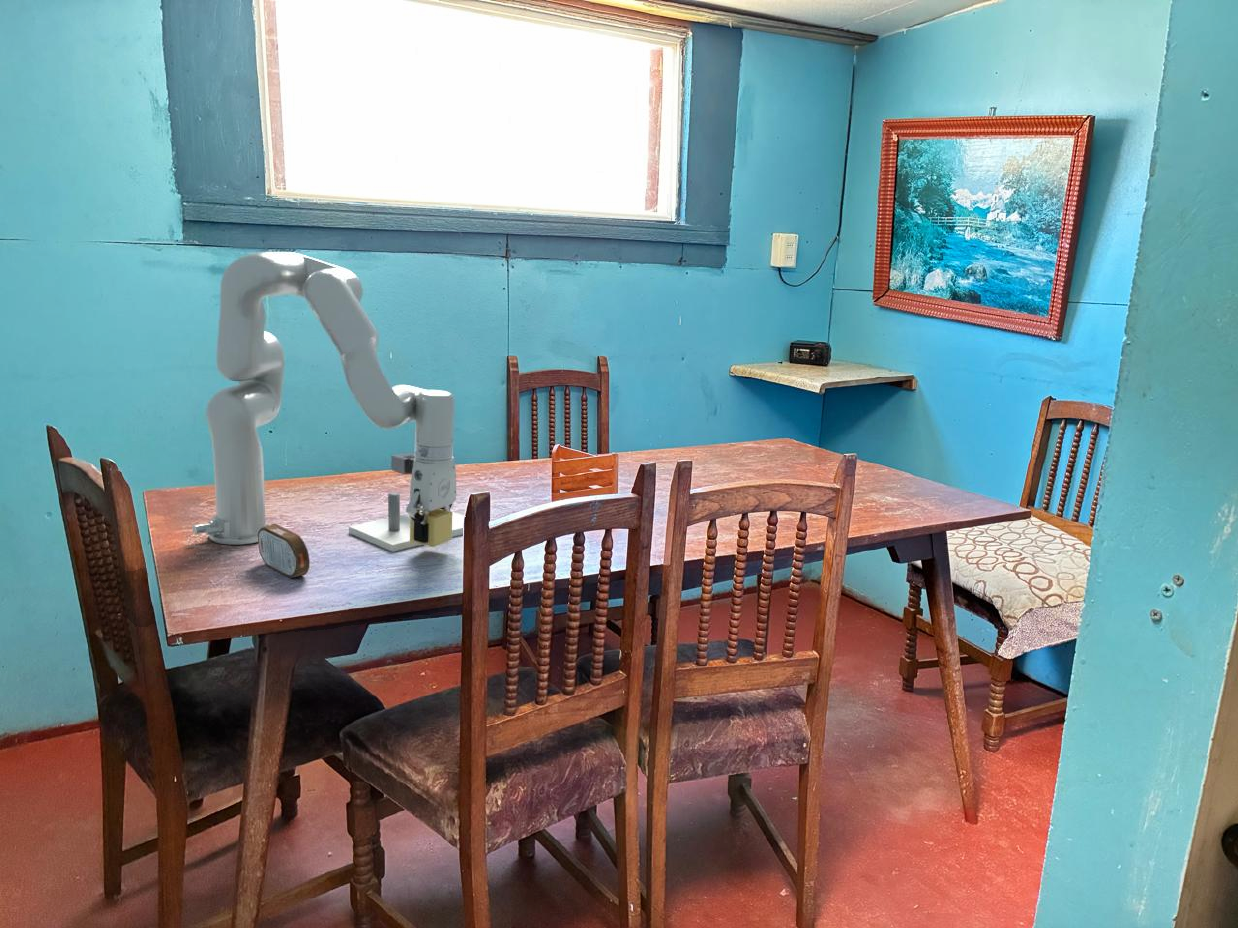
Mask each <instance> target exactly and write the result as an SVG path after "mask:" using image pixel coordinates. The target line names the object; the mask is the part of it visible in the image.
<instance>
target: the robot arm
mask: <svg viewBox="0 0 1238 928" xmlns="http://www.w3.org/2000/svg"><path fill="white" fill-rule="evenodd" d="M219 292H220V293H219V296H220V297H219V298H220V300H219V301H220V303H219V308H220V309H219V317H218V318H219V319H218V328H217V329H218V331H217V346H216V365H217V369H218V371H219V374H221V375H222V377H224V378H225V379H227V380H229V381H232V382H238V384H236V385H232V386H229V387H226V388H223V389H221V390H219V391H217V392H216V393H215V394H214V395H213V396H212V397H211V398H210V400H209V401H208V402H207V406H206V411H205V412H206V413H205V414H206V423H207V425H208V426H207V427H208V431H209V434H210V439H211V446H212V447H211V448H212V459H213V461H212V462H213V473H214V474H213V475H214V476H213V477H214V494H215V496H214V497H215V498H214V499H215V515H212V516H211V520H208V522H207V523H199V524H194V525H192V531H193V534H194V535H199V534H205V535H206V536H208V537H209V539H210V540H211V541H213V542H214V543H217V544H222V545H230V546H231V545H232V546H233V545H239V546H240V545H249V544H256V543H258V532H259V530H260V529H261V528H263V527H266V526H269V525H270V524H268V523H267V521H266V520H267V519H266V500H265V499H266V498H265V497H266V496H265V495H266V494H265V473H264V472H265V471H264V470H265V469H264V452H263V448H262V447H263V446H262V443H261V440H260V437H259V433H258V429H257V428H259V427H262V426H265V425H267V424H269V423H270V422H272V421H273V420H274V419H275V418H276V417H277V416H278V414H279V411H280V409H281V404H282V395H283V386H284V385H283V384H284V371H285V353H284V348H283V347H282V344H281V342H280V341H279V339H278V338H277V337H276V336H275V335H274V334H272V333H271V332H268V331H265V326H266V309H265V304H264V302H263V301H264V299H265V298H266V297H267V298H268V297H276V296H277V297H278V296H287V295H292V296H296V297H300V298H304V299H305V301H306V302H307V305H308V306H309V308H310V309H311V311H312V312H313V314H314V315H315V317H316V319H317V320H318V321H319V323H320V324H321V327H322V328H323V330H324V331H325V332H326V334H327V335H328V338H329V339H330V340H331V342H332V344H333V345H334V347H335V348H336V351H338V354H339V356H340V360H341V366H342V369H343V372H344V376H345V380H346V382H347V386H348V387H349V390H350V392H351V394H352V396H353V397H354V399H355V400H356V402H357V404H358V406H359V407H360V409H361V410H362V411H363V413H364V414H365V416H366V418H368V419H369V421H371V423H373V424H374V425H375V426H376V427H378V428H380V429H383V430H393V429H396V428H399V427H400V426H402V425H404V424H405V423H409V422H415V424H414V425H415V427H414V454H415V456H414V459H415V460H414V464H413V469H412V475H411V476H410V486H409V487H410V488H409V503H408V504H407V506H406V507H405V512H406V514H409V515H410V517H411V518H412V522H414V540H415V541H419V542H423V543H427V542H428V524H427V523H426V522H427V519H428V515H429V512H431V511H434V510H437V509H442V510H447V511H451V509H452V506H453V505H454V503H455V502H456V500H457V494H458V493H457V470H456V461H455V458H454V456H453V455H454V428H455V427H454V425H455V397H454V395H453V394H452V393H451V392H450V391H447V390H441V389H424V388H419V387H416V386H412V385H407V384H396V385H394V386H391V384H390V383H389V381H388V380H387V378H386V376H385V375H384V373H383V371H382V369H381V365H380V363H379V360H378V346H379V333H378V330H377V328H376V327H375V325H374V324H373V323H372V321H371V319H370V318H369V316H368V315H367V313H366V311H365V310H364V308H363V307H362V304H361V303H360V302H361V300H362V298H363V293H364V290H363V285H362V282H361V280H360V279H359V277H358V276H357V274H356V273H354V272H353V271H351V270H350V269H347V268H345V267H341V266H338V265H335V264H331V263H329V262H325V261H322V260H319V259H316V258H313V257H310V256H307V255H304V254H300V253H297V252H292V251H263V252H255V253H253V252H252V253H250V254H247V255H246V254H245V255H243V256H241V257H239V258H237V259H235V260H234V261H232V262H231V263H230V264H229V265H228V266H227V268H226V269H225V271H224V272H223V274H222V278H221V282H220V290H219ZM420 511H424V512H423V516H421V515H420Z"/></svg>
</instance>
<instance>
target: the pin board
mask: <svg viewBox="0 0 1238 928" xmlns="http://www.w3.org/2000/svg"><path fill="white" fill-rule="evenodd" d="M387 498H388V499H387V503H388V504H387V507H388V509H387V512H388V513H387V516H388V517H386V518H380V519H377V520H372V521H366V522H363V523H358V524H354V525H353V524H352V525H349V526H348V533H349V534H350V535H352V536H355V537H357V538H359V539H363V541H365V542H366V541H367V542H369V543H371V544H373V545H376V546H378V547H380V548H383V549H385V550H387V551H389V552H392V553H394V552H397V551H402V550H406V549H409V548H414V547H418V546H422V545H423V544H420V543H416V542H412V541H410V515H409V514H408V513H403V514H400V513H401V511H400V510H401V509H400V508H401V507H400V506H401V505H400V504H401V503H400V502H401V499H400V498H401V494H400V493H399V492H389V493H388V494H387ZM450 511H451V512H453V514H452V538H454V537H458V536H461V535H464V534H463V522H464V515H463V514H460V513H458V512H454V511H452V510H450ZM460 534H461V535H460ZM457 535H458V536H457ZM453 536H454V537H453Z"/></svg>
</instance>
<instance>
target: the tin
mask: <svg viewBox="0 0 1238 928" xmlns="http://www.w3.org/2000/svg"><path fill="white" fill-rule="evenodd" d="M268 525H269V526H266V527H263V528H261V529H260V530H259V532H258V542H257V543H258V552H259V554H260V557H261V559H262V561H263V563H264V564H265V565H266V566H267V567H269V568H270V569H272V570H274V571H276V572H278V573H280V575H281V574H282V575H284V576H285V577H287V578H289V579H295V578H298V577H301V576H306V575H307V574H308V572H309V569H310V565H311V564H310V561H311V560H310V556H309V554H310V553H309V551H308V548H307V545H306V543H305V542H304V540H303V538H302V537H301V536H300V534H299V535H298V534H297V533H296V532H293V531H292V530H289V529H288V528H285V527H283V526H281V525H279V524H278V523H271V524H268Z"/></svg>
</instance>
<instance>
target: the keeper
mask: <svg viewBox="0 0 1238 928" xmlns="http://www.w3.org/2000/svg"><path fill="white" fill-rule="evenodd" d="M414 456H415V453H412V452H405V453H404V452H403V453H399V454H398V453H397V454H392V455H391V456H390V457H391V460H390V461H391V470H390V471H393V472H396V473H399V474H401V475H404V476H405V475H411V476H412V469H413V464H414V460H415V459H414Z"/></svg>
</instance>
